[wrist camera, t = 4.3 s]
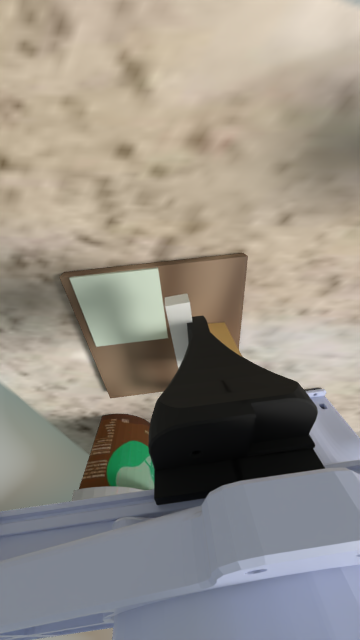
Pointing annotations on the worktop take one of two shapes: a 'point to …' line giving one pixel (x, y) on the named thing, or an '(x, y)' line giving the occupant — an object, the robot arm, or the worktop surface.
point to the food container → (118, 459)
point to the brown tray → (158, 355)
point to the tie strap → (179, 323)
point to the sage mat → (122, 306)
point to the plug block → (223, 335)
